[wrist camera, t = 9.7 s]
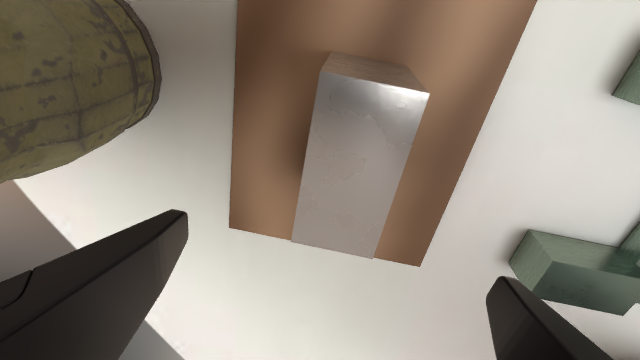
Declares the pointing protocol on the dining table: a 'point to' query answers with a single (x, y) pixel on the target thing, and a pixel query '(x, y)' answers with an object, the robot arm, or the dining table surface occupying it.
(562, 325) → the robot arm
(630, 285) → the green base
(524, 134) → the dining table surface
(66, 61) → the thermos
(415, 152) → the walnut mat
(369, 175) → the steel bar
